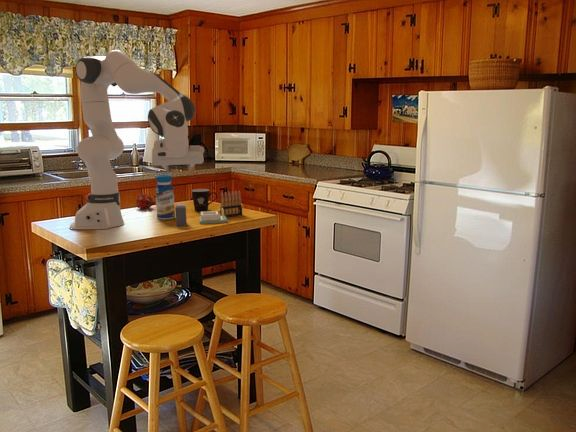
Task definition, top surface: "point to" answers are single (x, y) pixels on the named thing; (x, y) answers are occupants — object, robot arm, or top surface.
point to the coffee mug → (201, 199)
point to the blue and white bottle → (164, 197)
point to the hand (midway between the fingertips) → (178, 169)
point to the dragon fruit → (144, 201)
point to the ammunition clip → (231, 204)
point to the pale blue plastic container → (212, 217)
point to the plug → (180, 215)
